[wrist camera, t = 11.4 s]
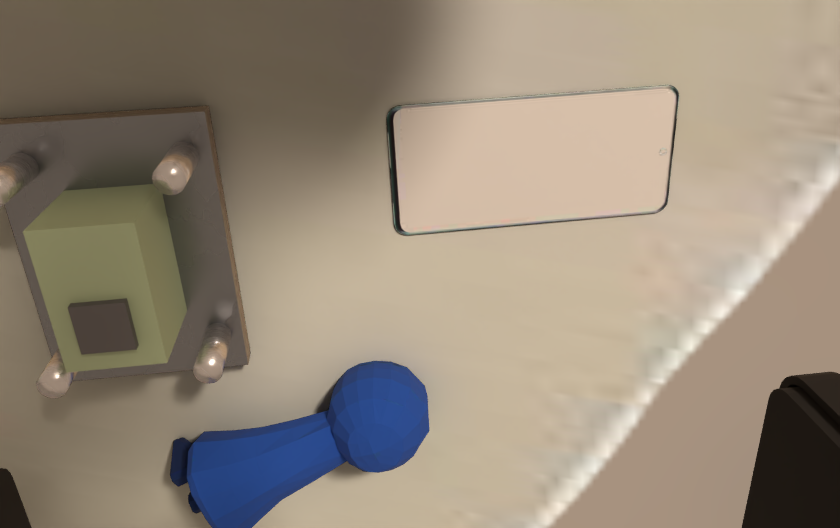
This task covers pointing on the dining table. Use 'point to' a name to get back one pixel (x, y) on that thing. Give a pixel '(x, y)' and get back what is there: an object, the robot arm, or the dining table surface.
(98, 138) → the chassis
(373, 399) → the toy
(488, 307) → the dining table surface
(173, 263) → the block
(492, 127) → the smartphone
